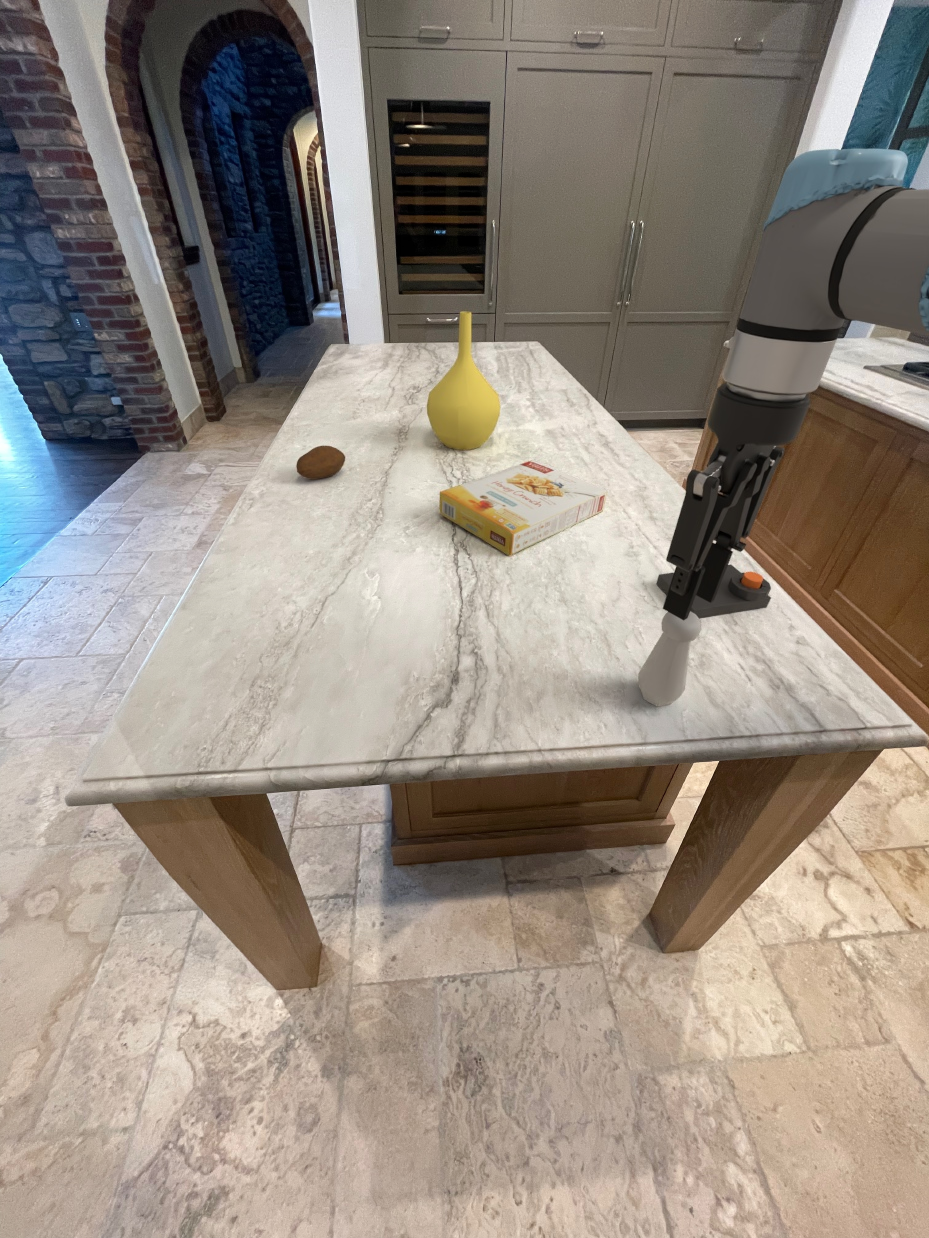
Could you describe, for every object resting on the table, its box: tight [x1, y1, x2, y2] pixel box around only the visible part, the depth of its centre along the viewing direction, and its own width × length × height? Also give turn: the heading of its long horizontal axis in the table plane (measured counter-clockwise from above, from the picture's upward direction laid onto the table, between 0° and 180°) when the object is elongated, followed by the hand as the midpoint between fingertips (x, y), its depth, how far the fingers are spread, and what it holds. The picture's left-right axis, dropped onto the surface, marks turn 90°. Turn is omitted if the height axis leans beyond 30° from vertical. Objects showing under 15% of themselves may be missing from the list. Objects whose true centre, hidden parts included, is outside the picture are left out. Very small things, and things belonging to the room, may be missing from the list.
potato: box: [295, 445, 346, 480], centre depth 118 cm, size 7×12×7 cm, turn 136°
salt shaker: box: [637, 611, 702, 707], centre depth 66 cm, size 6×6×13 cm
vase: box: [426, 310, 501, 451], centre depth 130 cm, size 18×18×30 cm
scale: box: [655, 564, 772, 619], centre depth 86 cm, size 14×10×4 cm
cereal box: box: [438, 458, 608, 557], centre depth 107 cm, size 20×6×28 cm
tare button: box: [741, 571, 764, 589], centre depth 84 cm, size 3×3×2 cm
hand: (688, 604), depth 60 cm, fingers open, 5 cm apart
